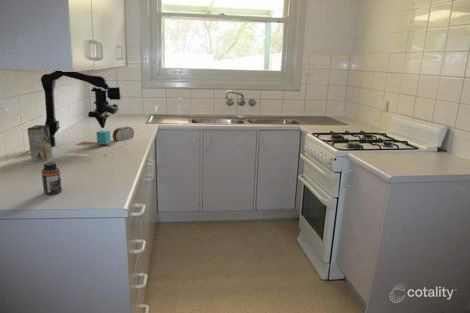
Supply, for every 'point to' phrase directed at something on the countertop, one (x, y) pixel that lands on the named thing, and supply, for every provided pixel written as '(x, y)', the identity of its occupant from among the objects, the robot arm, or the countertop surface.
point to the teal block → (103, 137)
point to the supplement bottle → (51, 178)
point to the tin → (123, 133)
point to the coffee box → (40, 142)
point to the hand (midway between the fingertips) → (102, 127)
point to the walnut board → (95, 144)
